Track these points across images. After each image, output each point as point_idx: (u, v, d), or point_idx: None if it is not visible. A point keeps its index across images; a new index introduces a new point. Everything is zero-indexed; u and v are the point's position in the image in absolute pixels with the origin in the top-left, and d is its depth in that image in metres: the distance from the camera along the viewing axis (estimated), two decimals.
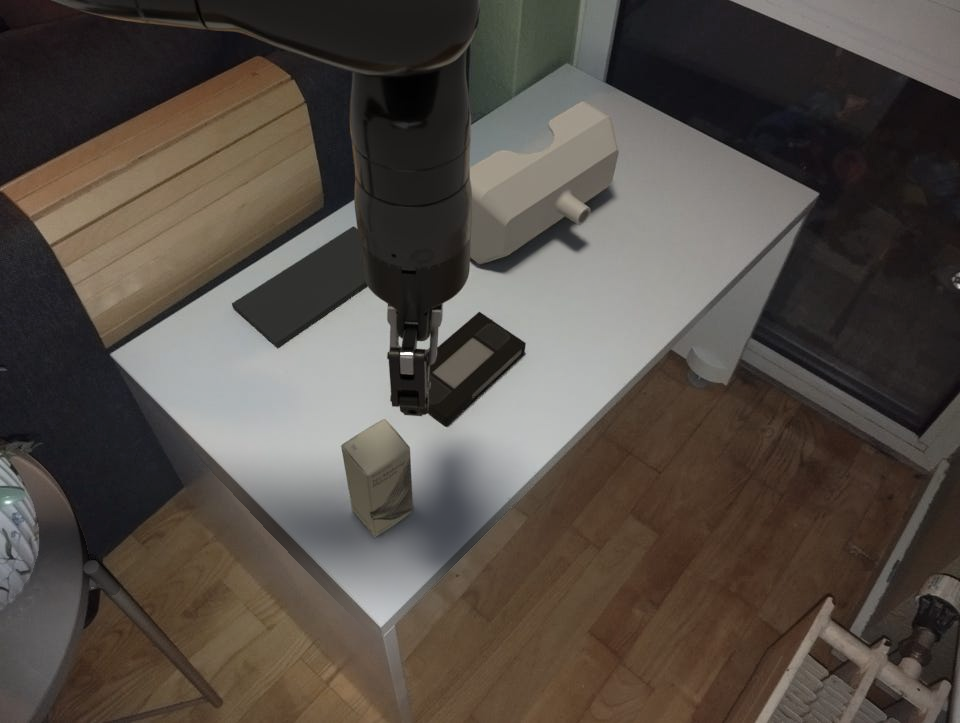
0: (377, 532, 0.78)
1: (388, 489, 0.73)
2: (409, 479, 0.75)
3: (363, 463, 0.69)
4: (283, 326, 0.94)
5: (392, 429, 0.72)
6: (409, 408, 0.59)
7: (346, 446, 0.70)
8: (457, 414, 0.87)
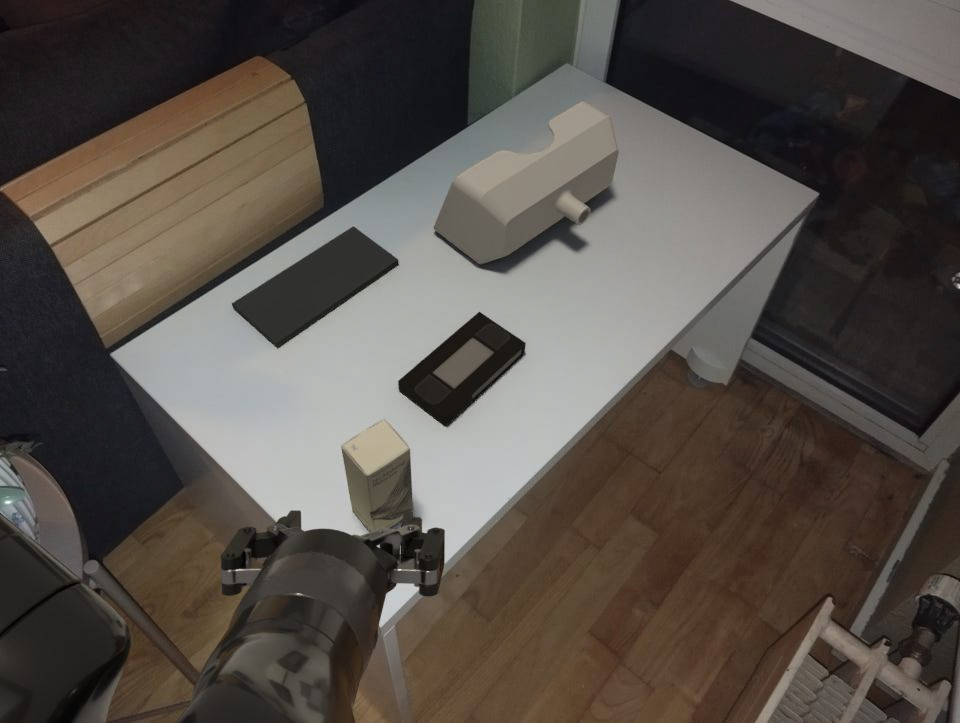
0: None
1: (388, 489, 0.73)
2: (409, 479, 0.75)
3: (363, 463, 0.69)
4: (283, 326, 0.94)
5: (392, 429, 0.72)
6: None
7: (346, 446, 0.70)
8: (457, 414, 0.87)
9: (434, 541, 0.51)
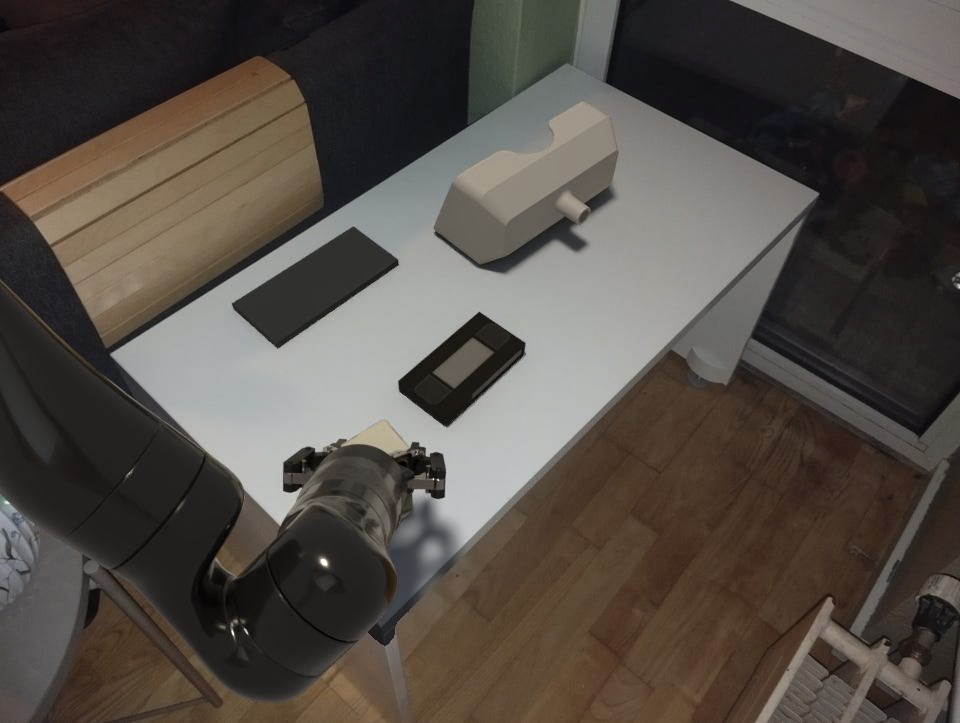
0: None
1: None
2: None
3: None
4: (283, 326, 0.94)
5: (392, 429, 0.72)
6: None
7: None
8: (457, 414, 0.87)
9: (438, 460, 0.67)
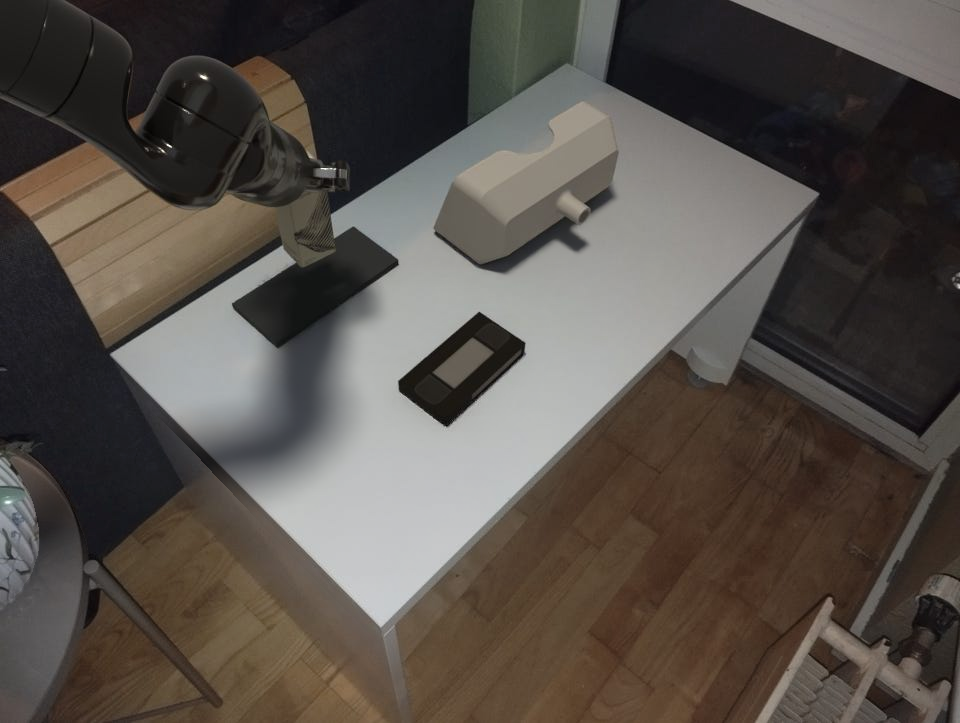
0: (303, 261, 0.91)
1: (307, 209, 0.86)
2: (327, 207, 0.88)
3: None
4: (283, 326, 0.94)
5: (309, 155, 0.85)
6: None
7: None
8: (457, 414, 0.87)
9: None
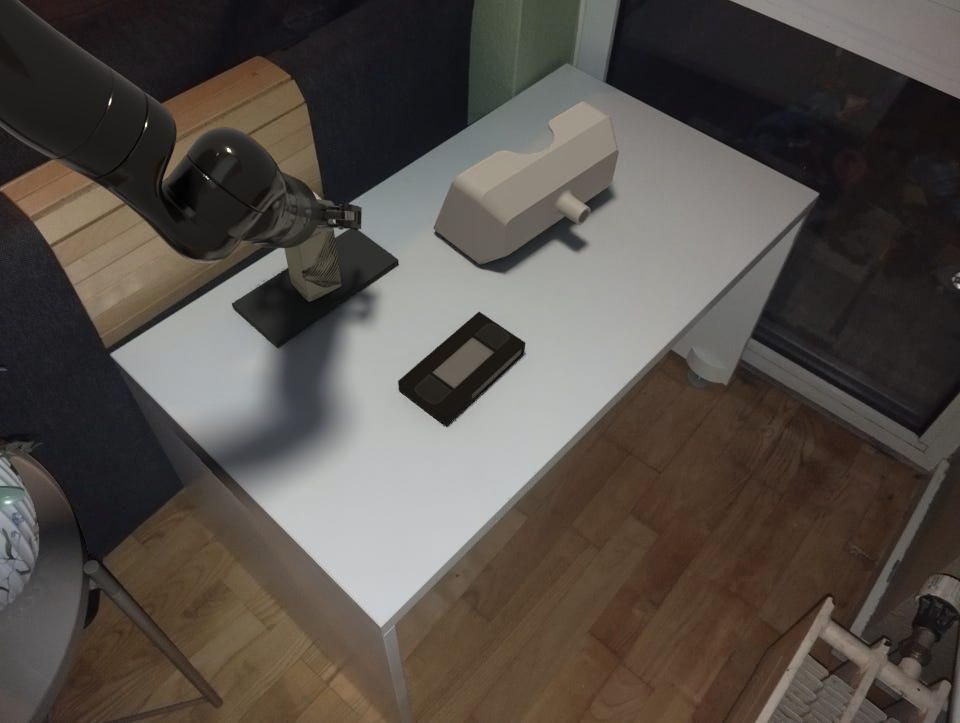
0: (310, 296, 0.95)
1: (315, 249, 0.90)
2: (334, 246, 0.92)
3: None
4: (283, 326, 0.94)
5: (318, 197, 0.89)
6: None
7: None
8: (457, 414, 0.87)
9: None
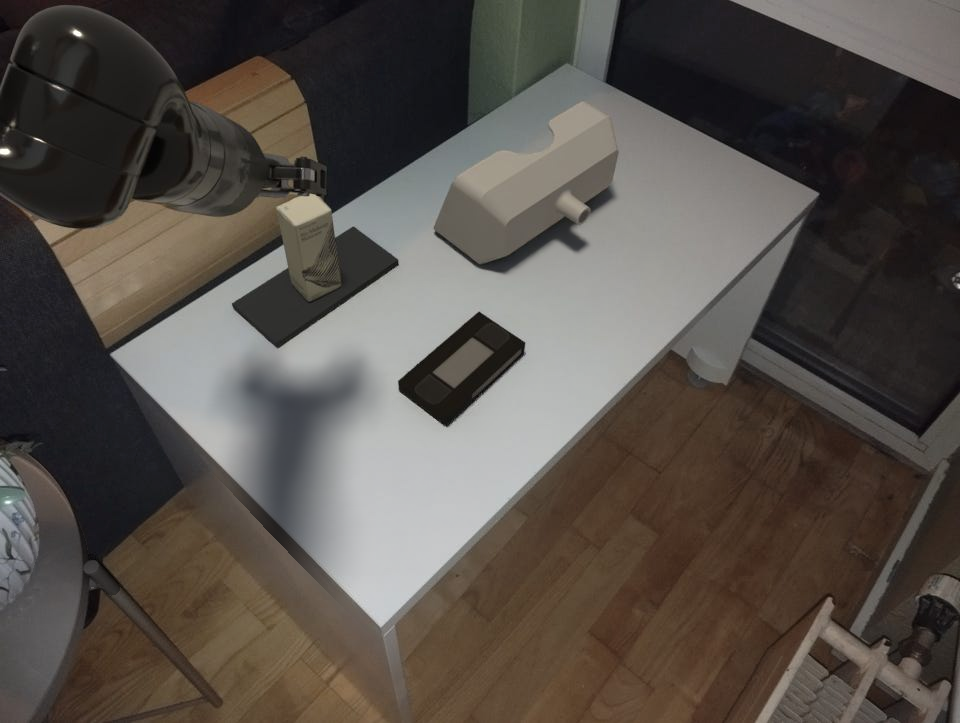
0: (310, 296, 0.95)
1: (315, 249, 0.90)
2: (334, 246, 0.92)
3: (293, 218, 0.87)
4: (283, 326, 0.94)
5: (318, 197, 0.89)
6: None
7: (280, 207, 0.88)
8: (457, 414, 0.87)
9: None
